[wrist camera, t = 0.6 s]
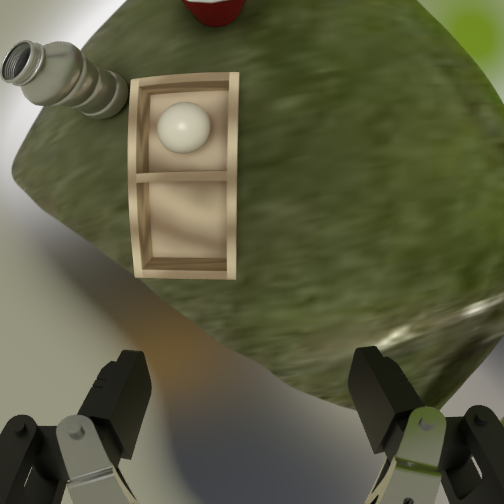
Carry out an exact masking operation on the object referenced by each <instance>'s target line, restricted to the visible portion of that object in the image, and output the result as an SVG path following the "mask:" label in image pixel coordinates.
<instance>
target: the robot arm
mask: <svg viewBox="0 0 504 504" xmlns="http://www.w3.org/2000/svg"><path fill="white" fill-rule="evenodd" d="M348 388H349V392H350V395H351V397H352V400H353V402H354V405H355V407H356V409H357V412H358V414H359V417H360V419H361V422H362V424H363V426H364V429H365V432H366V434H367V437H368V439H369V442H370V444H371V447H372V449H373V452H374V454H377V453H381V452H385V453H386V456H387V457H386V459H385V461H384V463H383V466H382V468H381V470H380V473H379V475H378V477H377V479H376V481H375V483H374V486H373V487H372V489H371V491H370V494H369V495H368V498H367V499H366V501H365V503H364V504H434V502H435V499H436V495H437V492H438V488H439V484H440V481H441V483H442V485H443V488H444V490H445V493H446V495H447V498H448V500H449V503H450V504H504V427H503V425H502V424H501V422H500V421H499V420H498V418H497V416H496V415H495V414H494V412H493V411H492V410H491V409H489V408H488V407H485V406H482V405H475V406H472V407H471V408H469V409H468V410H467V412H466V414H465V415H464V416H463V417H444V415H443V414H442V413H441V412H440V411H439V410H437V409H435V408H432V407H425V405H424V404H423V402H422V401H421V399H420V397H419V396H418V394H417V393H416V391H415V390H414V388H413V387H412V385H411V383H410V382H409V381H408V379H407V377H406V376H405V374H403V371H402V370H401V368H400V367H399V365H398V364H397V363H396V362H395V361H393V360H392V359H390V358H389V357H383V356H382V354H381V353H380V351H379V350H378V348H377V347H376V346H369V347H361V348H356V350H355V352H354V356H353V361H352V365H351V369H350V373H349V377H348ZM151 390H152V386H151V379H150V375H149V372H148V367H147V364H146V360H145V356H144V353H143V352H142V351H133V350H123V351H122V352H121V354H120V356H119V358H118V359H117V361H116V362H114V361H111V362H109V363H108V364H107V365H106V366H104V367H103V368H102V369H101V371H100V373H99V375H98V377H97V380H95V382H94V384H93V387H92V388H91V389H90V391H89V393H88V395H87V397H86V398H85V400H84V402H83V404H82V406H81V408H80V410H79V412H78V414H77V415H71V416H68V417H66V418H64V419H63V420H62V421H61V422H60V423H59V424H58V426H38V425H37V424H36V422H35V421H34V420H33V418H31V417H30V416H28V415H17V416H15V417H13V418H11V419H10V420H9V421H8V422H7V424H6V426H5V427H4V429H3V431H2V433H1V434H0V504H61V501H62V497H63V494H64V490H65V487H66V484H67V487H68V491H69V493H70V496H71V499H72V501H73V504H140V503H139V501H138V500H137V498H136V496H135V495H134V493H133V491H132V489H131V488H130V486H129V484H128V482H127V481H126V479H125V477H124V475H123V473H122V471H121V470H120V468H119V466H118V464H119V462H120V458H124V459H130V460H131V458H132V455H133V451H134V448H135V444H136V441H137V438H138V434H139V431H140V428H141V424H142V421H143V418H144V415H145V412H146V409H147V405H148V402H149V399H150V396H151ZM473 456H474V458H475V460H476V462H477V464H478V466H479V468H480V470H481V472H482V479H481V477H480V475H479V473H478V471H477V469H476V467H475V465H474V463H473V461H472V459H471V458H472V457H473ZM31 467H32V469H31ZM30 469H31V472H30ZM29 472H30V474H29ZM28 474H29V477H28ZM27 477H28V480H27V482H26V479H27ZM68 480H70V482H67V481H68ZM25 482H26V485H25ZM24 485H25V487H24Z"/></svg>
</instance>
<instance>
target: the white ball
mask: <svg viewBox="0 0 504 504" xmlns="http://www.w3.org/2000/svg"><path fill="white" fill-rule="evenodd" d="M210 128H211V125H210V119H209V117H208V115H207V113H206V111H205V110H204V109H203V108H202V107H200V106H199V105H197V104H195V103H192V102H178V103H175V104H173V105H171V106H169V107H168V108H167V109H166V110H165V111H164V112H163V113H162V114H161V116H160V118H159V120H158V124H157V135H158V138H159V140H160V142H161V143H162V145H163V146H164V147H165V148H167V149H168V150H170V151H172V152H174V153H179V154H186V153H191V152H193V151H195V150H197V149H199V148H200V147H201V146H202V145H203V144H204V143H205V142H206V140H207V139H208V137H209V134H210Z"/></svg>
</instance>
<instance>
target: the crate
mask: <svg viewBox="0 0 504 504" xmlns="http://www.w3.org/2000/svg"><path fill="white" fill-rule="evenodd" d="M178 102H192V103H195V104H197V105H199V106H200V107H202V108H203V109H204V110H205V111H206V113H207V115H208V117H209V119H210V125H211V128H210V134H209V137H208V139H207V140H206V142H205V143H204V144H203V145H202V146H201V147H200V148H199V149H197V150H195V151H193V152H191V153H186V154H179V153H174V152H172V151H170V150H168V149H167V148H165V147H164V146H163V145H162V143H161V142H160V140H159V138H158V135H157V124H158V120H159V118H160V116H161V114H162V113H163V112H164V111H165V110H166V109H167V108H168V107H169V106H171V105H173V104H175V103H178ZM238 117H239V72H211V73H190V74H176V75H165V76H155V77H147V78H139V79H132V80H131V86H130V101H129V121H128V194H129V215H130V230H131V243H132V254H133V263H134V272H135V277H140V278H176V279H236V264H237V167H238Z"/></svg>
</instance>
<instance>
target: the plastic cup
mask: <svg viewBox="0 0 504 504" xmlns="http://www.w3.org/2000/svg"><path fill="white" fill-rule="evenodd" d="M245 1H246V0H182V2H183V3H184V4H185V5H186V6H187V8H188V9H189V10H190V11H191V12H192V13H193V14H194V15H195V17H196V18H197V19H198V20H199V21H200V22H201V23H203V24H205V25H207V26H212V27H220V26H225V25H227V24H229V23H231V22H233V21H234V20H235V19H236V17H237V16H238V15H239V14H240V11H241V8H242V7H243V5H244V3H245Z"/></svg>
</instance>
